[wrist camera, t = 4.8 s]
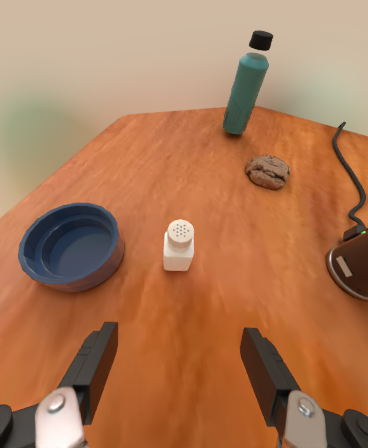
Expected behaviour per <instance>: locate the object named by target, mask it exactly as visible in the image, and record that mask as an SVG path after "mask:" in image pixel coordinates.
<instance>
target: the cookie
mask: <svg viewBox="0 0 368 448" xmlns="http://www.w3.org/2000/svg"><path fill="white" fill-rule="evenodd" d="M246 174H248V175H249V177H250V179H251V180H252V181H253V182H254V183H255V184H257V185H260V186H263V187H266V188H270V189H278V188H280V187H282V186H284V184H285V183H286V181H287V180H288V177H289V176H290V167H289V166H288V165H287V164H286V163H285V162H284V161H283V160H281V159H280V158H278V157H275V156H274V157H273V158H272V157H271V155H266V156H262V157H258V156H255V157H253V158H252V159H251V160H250V161H249V162H248V163H247V165H246Z"/></svg>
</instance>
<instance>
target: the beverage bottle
mask: <svg viewBox="0 0 368 448" xmlns="http://www.w3.org/2000/svg"><path fill="white" fill-rule="evenodd" d="M272 38H273V35H272V34H271V33H268V32H265V31H254V32H253V35H252V38H251V41H250V43H249V46H250V47H251V48H254V49H257V50H263V51H267V50H269V49H270V46H271V42H272ZM268 67H269V64H268V61H267V59H266V57H265V56H263V55H261V54H258V53H247V54H246V55H244V56H243V57H242V58H241V59H240V61H239V66H238V70H237V74H236V77H235V81H234V84H233V88H232V91H231V96H230V99H229V103H228V106H227V108H226V110H227V111H226V112H225V116H224V117H225V118H224V122H223V128H224V130H226V131H227V132H229V133H232V134H241V133H243V132H244V130H245V128H246V127H247V126H246V125H247V124H248V122H249V121H248V120H249V119H250V115H251V114H252V111H253V110H252V109H253V107H254V104H255V101H256V99H257V96H258V92H259V90H260V87H261V85H262V82H263V79H264V77H265V74H266V71H267V69H268Z"/></svg>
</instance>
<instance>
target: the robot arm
mask: <svg viewBox="0 0 368 448" xmlns="http://www.w3.org/2000/svg"><path fill="white" fill-rule="evenodd" d="M345 124H346V122H343V123H342V124H341V125H340V126H339V127H337V128H339V129H338V131H337V133H336V134H335V136H334V138H333V146H334V149H335V151H336V153H337V155H338V157H339V159H340V161H341V162H342V164H343V165H344V167H345V168H346V169H347V171H348V172H349V174H350V175H351V177H352V179H353V180H354V182H355V184H356V186H357V187H358V189H359V191H360V194H361V201H360V203H359V204H358V205H357V206H355V207H354V208H353V209H352V210H351V211H350V212H349V217H350V218H351V219H352V220H354V221H355V222H357V223H358V224H357V225H356V226H354V227H352V228H351V229H349V230H347V231H346V232H344V236H343V241H342V242H340V243H339V245H338V246H336V247H334V248H332V249H331V250H330V251H329V252H328V254H327V256H326V264H327V268H328V270H329V272H330V274H331V276H332V278H333V279H334V280H335V282H336V283H337V284H338V285H339V286H340V287H341V288H342V289H343V290H345V291H346V292H347V293H349V294H350V295H352V296H354V297H356V298H358V299H361V300H365V301H368V228H366V227H365V225H364V223H363V222H362V221H361V220H360V219H359V218H357V217H355V216H354V213H355V211H357V210H358V209H359V208H361V207H362V206H363V205H364V203H365V201H366V195H365V191H364V189H363V187H362V185H361V184H360V182H359V181H358V179H357V177H356V175H355V174H354V172H353V171H352V169H351V168H350V167H349V165H348V164H347V163H346V161H345V160H344V158H343V156H342V155H341V153H340V151H339V149H338V147H337V144H336V139H337V136H338V135H339V133H340V131H341V130H342V128H343V127H344V125H345ZM117 347H118V322H104V324H103V326H102V328H101V330H100V331H93V332H92V333H91V334H90V335H89V336H88V337H87V338H86V339H85V341H84V343H83V344H82V346H81V349H80V350H79V351H78V353H77V356H76V357H75V358H74V360H73V362H72V363H71V365H70V367H69V369H68V370H67V372H66V374H65V375H64V377H63V379H62V381H61V382H60V384H59V386H58V387H57V388H56V389H55V390H53V391H52V392H50V393H49V394H48V395H47V396H45V398H44V399H43V400H42V401H41V402H40V403H38V404H36V405H33V406H30V407H27V408H24V409H21V410H18V411H15V412H12V410H11V408H10V406H8V405H0V448H89V445H88V442H87V441H86V439H85V435H84V430H83V426H84V425H91V423H92V421H93V418H94V415H95V412H96V409H97V406H98V403H99V401H100V398H101V395H102V392H103V389H104V386H105V384H106V381H107V378H108V375H109V372H110V369H111V367H112V364H113V361H114V358H115V355H116V352H117ZM240 353H241V358H242V361H243V363H244V366H245V369H246V371H247V374H248V377H249V379H250V382H251V385H252V387H253V390H254V393H255V395H256V398H257V401H258V403H259V406H260V408H261V411H262V414H263V416H264V419H265V422H266V424H267V427H276V429H277V431H278V438H277V445H276V448H368V417H367V416H365V415H364V414H362V413H360V412H358V411H356V410H352V409H348V410H346V411H345V412H344V415H343V416H340V415H338V414H335V413H332V412H330V411H327V410H324V409H322V408H321V407H320V406H319V405H318V403H317V402H316V401H315V400H314V399H313V398H312V397H310V396H309V395H308V394H306V393H304V392H302V391H301V389H300V387H299V386H298V384H297V382H296V381H295V379H294V377H293V376H292V374H291V373H290V371H289V369H288V368H287V366H286V364H285V363H284V362H283V359H282V358H281V356H280V355H279V353H278V351H277V350H276V348H275V346H274V345H273V344H272V343H271V342H270V341H269V340H268V339H267V338H263V337H262V336H261V334H260V332H259V330H258V329H257V328H244V330H243V335H242V341H241V346H240Z"/></svg>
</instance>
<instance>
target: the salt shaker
mask: <svg viewBox="0 0 368 448" xmlns="http://www.w3.org/2000/svg"><path fill="white" fill-rule="evenodd" d="M193 235H194V229H193V226H192V225H191V224H190V223H189V222H188V221H185V220H175V221H173V222H172V223H171V224H170V225H169V227H168V230H167V232H166V233H165V238H164V252H163V258H164V269H165V270H169V271H187V270H188V269H189V267H190V264H191V261H192V258H193V255H194V237H193Z"/></svg>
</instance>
